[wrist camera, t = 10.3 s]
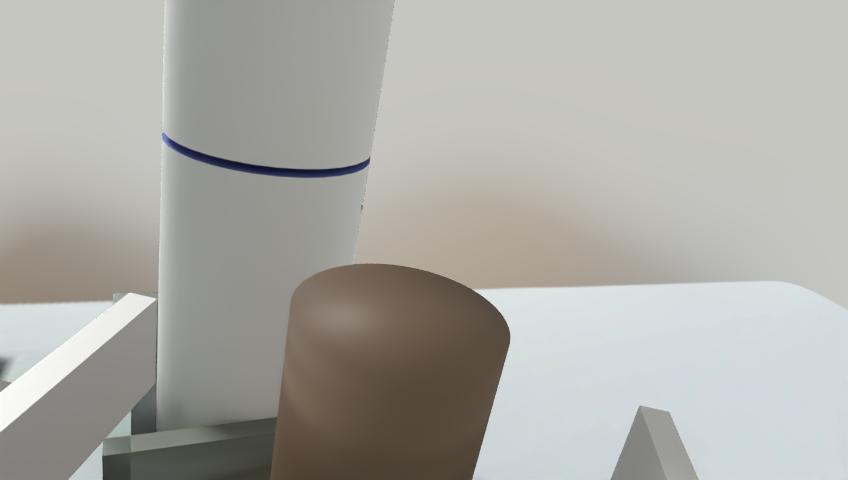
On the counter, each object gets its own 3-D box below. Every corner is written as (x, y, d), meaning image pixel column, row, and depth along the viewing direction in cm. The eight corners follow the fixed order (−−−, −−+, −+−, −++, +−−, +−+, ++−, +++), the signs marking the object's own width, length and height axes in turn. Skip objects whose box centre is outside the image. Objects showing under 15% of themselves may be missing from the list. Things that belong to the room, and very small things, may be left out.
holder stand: (538, 768, 16) (712, 367, 11) (77, 983, 11) (40, 453, 6) (327, 334, 33) (360, 105, 29) (114, 348, 29) (110, 79, 24)
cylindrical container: (115, 448, 23) (105, -377, 14) (221, 357, 30) (262, -248, 21) (278, 512, 22) (386, -354, 13) (352, 403, 29) (459, -224, 19)
